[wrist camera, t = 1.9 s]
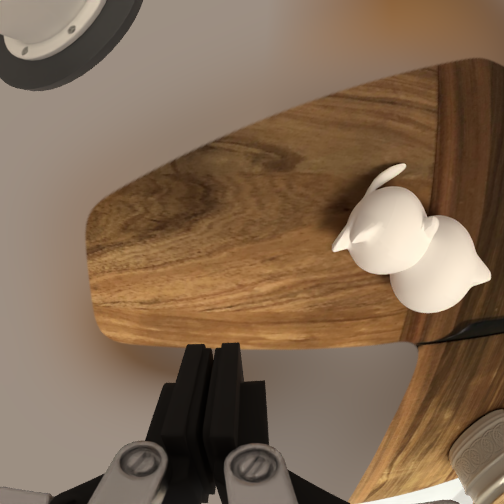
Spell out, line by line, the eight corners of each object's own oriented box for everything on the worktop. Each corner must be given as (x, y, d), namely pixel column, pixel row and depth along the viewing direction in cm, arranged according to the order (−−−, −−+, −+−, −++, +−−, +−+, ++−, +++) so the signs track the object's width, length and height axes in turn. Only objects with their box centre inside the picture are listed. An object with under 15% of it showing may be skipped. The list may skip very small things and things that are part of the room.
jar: (432, 462, 37) (468, 542, 20) (484, 404, 34) (540, 485, 17) (473, 459, 39) (508, 524, 22) (518, 408, 35) (566, 472, 18)
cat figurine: (374, 242, 16) (490, 325, 18) (406, 116, 19) (503, 206, 21) (308, 269, 25) (414, 330, 26) (349, 166, 28) (439, 232, 29)
